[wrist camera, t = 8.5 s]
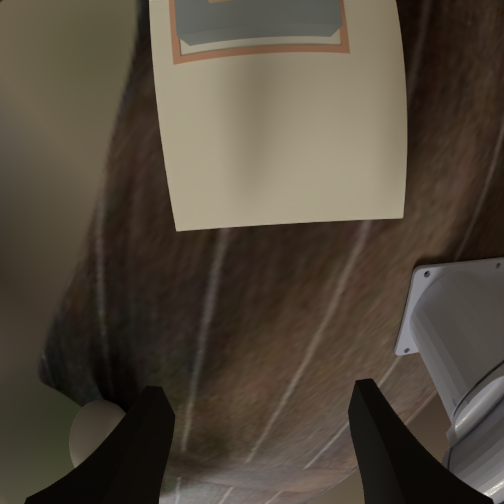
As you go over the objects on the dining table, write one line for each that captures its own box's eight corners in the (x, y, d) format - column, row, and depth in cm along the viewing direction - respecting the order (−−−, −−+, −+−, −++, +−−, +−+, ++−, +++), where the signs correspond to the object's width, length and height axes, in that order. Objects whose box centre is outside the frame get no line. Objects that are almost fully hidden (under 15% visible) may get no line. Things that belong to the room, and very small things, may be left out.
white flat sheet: (376, -63, 9) (379, -67, 8) (398, 214, 17) (403, 218, 16) (151, -54, 10) (148, -59, 9) (179, 227, 18) (176, 231, 17)
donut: (148, 434, 29) (130, 507, 20) (123, 430, 29) (101, 499, 20) (114, 380, 25) (78, 469, 16) (85, 377, 25) (48, 458, 16)
